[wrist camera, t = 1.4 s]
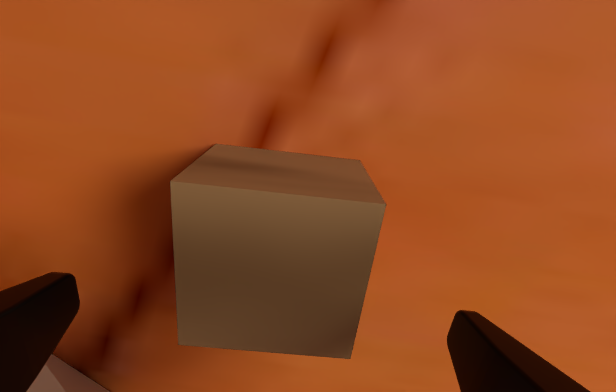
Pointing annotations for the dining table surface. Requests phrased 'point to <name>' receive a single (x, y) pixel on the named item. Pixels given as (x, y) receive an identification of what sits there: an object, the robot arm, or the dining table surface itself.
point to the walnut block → (273, 250)
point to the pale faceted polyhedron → (63, 379)
